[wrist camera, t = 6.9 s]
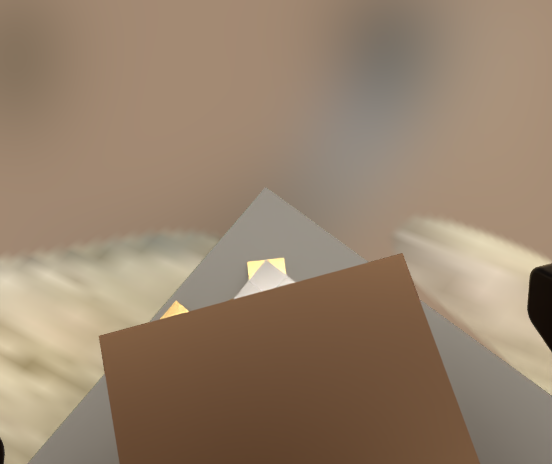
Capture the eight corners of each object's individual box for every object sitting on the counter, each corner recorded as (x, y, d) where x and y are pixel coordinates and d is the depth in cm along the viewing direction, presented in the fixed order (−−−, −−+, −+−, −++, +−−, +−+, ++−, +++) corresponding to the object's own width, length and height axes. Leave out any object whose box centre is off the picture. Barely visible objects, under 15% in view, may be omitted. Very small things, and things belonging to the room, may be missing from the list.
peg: (349, 451, 17) (531, 601, 5) (245, 483, 16) (162, 726, 4) (317, 346, 18) (402, 253, 6) (220, 374, 17) (99, 335, 6)
